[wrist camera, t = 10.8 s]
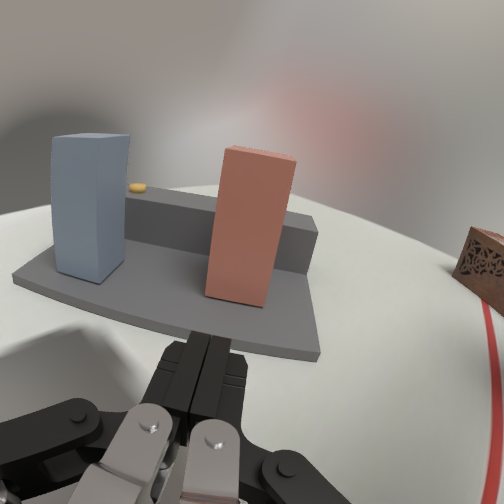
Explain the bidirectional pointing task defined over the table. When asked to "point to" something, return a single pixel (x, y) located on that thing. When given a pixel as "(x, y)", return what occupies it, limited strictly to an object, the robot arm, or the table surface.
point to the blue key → (89, 203)
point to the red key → (248, 223)
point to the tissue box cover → (483, 267)
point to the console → (190, 278)
